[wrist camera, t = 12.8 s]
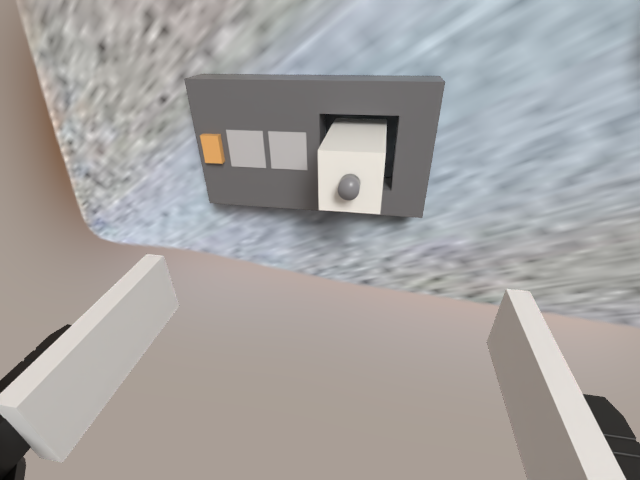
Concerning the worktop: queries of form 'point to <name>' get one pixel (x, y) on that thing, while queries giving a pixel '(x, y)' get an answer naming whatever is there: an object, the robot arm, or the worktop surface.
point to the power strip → (307, 134)
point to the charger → (352, 166)
